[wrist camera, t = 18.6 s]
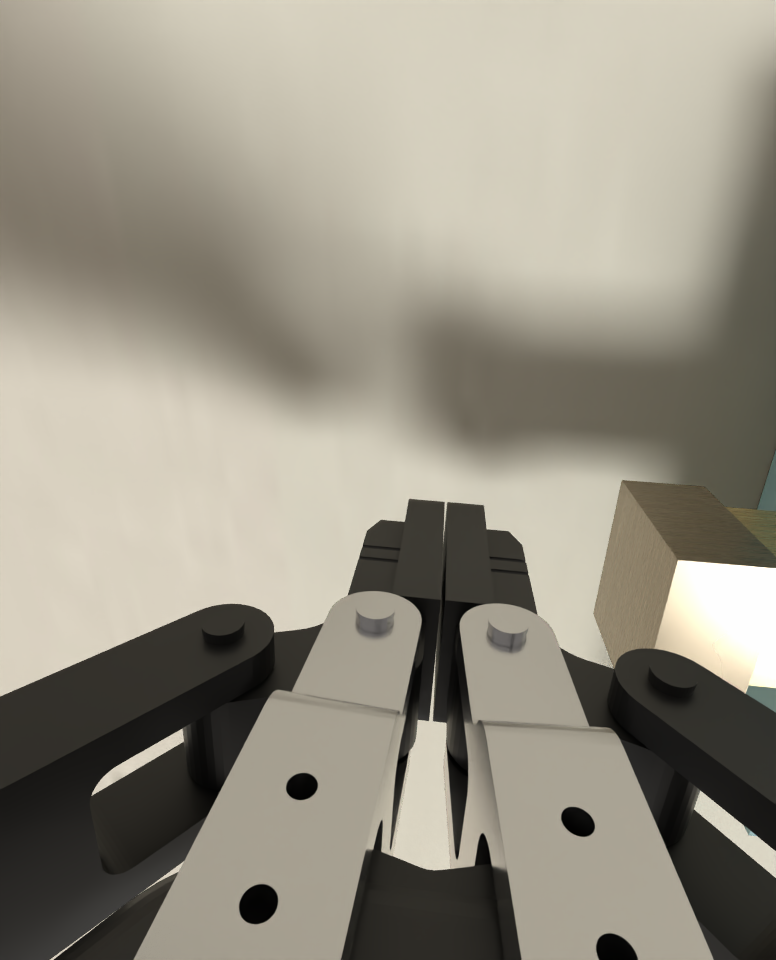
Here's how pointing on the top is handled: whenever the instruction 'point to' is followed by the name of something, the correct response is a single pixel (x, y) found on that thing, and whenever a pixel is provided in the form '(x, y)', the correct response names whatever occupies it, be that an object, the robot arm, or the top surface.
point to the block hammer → (691, 581)
